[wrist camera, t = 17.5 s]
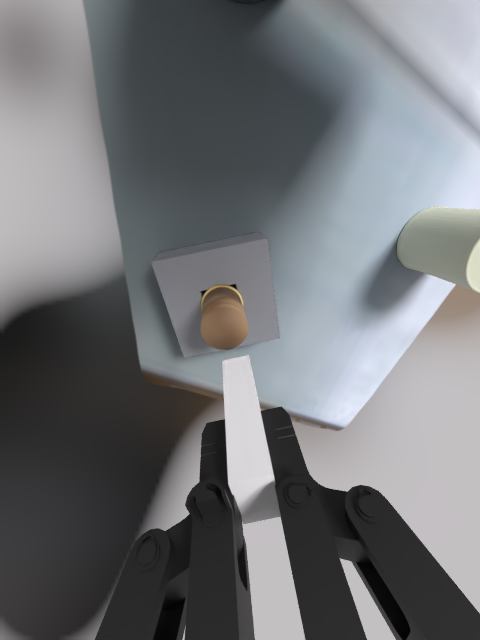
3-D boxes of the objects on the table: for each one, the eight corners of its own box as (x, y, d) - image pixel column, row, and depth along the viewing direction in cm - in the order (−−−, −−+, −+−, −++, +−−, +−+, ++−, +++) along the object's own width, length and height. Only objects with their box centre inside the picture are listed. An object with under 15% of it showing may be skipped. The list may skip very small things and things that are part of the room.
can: (430, 276, 40) (510, 305, 30) (384, 260, 38) (452, 284, 28) (469, 218, 37) (575, 227, 26) (420, 196, 35) (513, 196, 24)
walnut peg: (234, 268, 36) (245, 301, 25) (241, 301, 39) (253, 345, 27) (198, 275, 36) (192, 312, 25) (207, 308, 39) (205, 355, 27)
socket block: (259, 231, 34) (267, 238, 29) (271, 319, 41) (280, 338, 35) (160, 252, 34) (150, 262, 29) (187, 337, 41) (184, 358, 35)
